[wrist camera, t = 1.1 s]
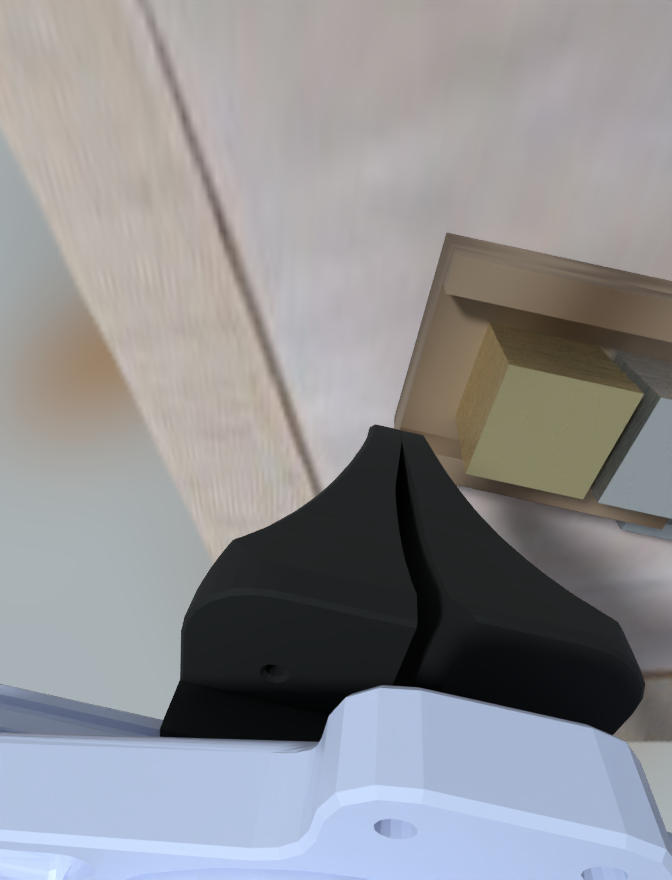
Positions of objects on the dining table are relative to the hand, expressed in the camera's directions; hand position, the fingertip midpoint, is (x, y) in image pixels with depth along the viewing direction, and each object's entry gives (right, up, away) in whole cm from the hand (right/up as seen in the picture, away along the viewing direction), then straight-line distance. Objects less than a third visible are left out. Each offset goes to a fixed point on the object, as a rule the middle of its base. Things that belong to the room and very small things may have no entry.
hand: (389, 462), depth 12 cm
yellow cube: (+6, +3, +6) cm, 9 cm away
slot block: (+8, +4, +9) cm, 12 cm away
